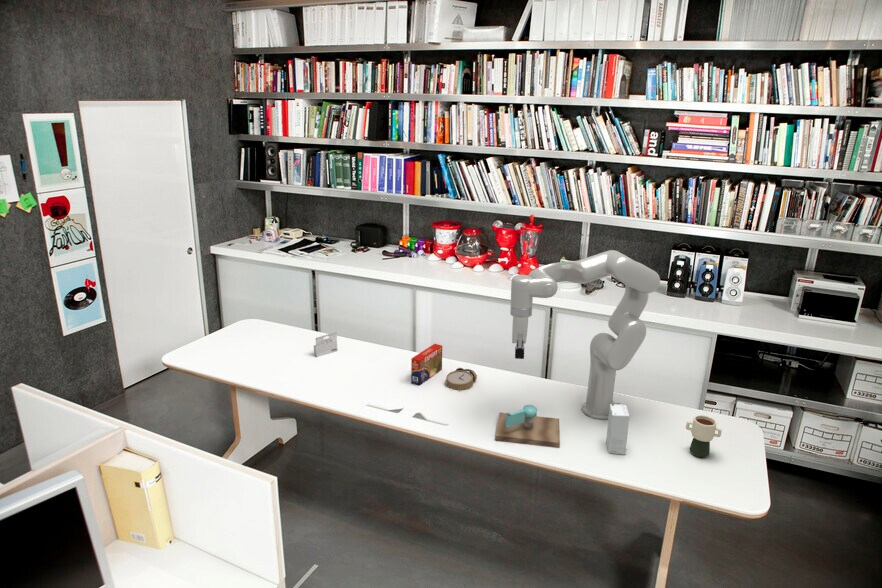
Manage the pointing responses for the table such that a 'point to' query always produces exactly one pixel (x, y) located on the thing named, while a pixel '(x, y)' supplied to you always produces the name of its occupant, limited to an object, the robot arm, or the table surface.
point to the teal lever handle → (520, 415)
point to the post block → (530, 431)
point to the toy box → (426, 364)
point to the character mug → (702, 434)
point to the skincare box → (617, 429)
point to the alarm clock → (461, 379)
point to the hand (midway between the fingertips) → (519, 357)
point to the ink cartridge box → (325, 345)
